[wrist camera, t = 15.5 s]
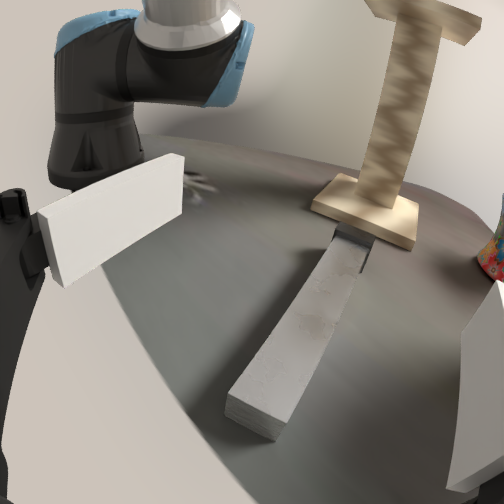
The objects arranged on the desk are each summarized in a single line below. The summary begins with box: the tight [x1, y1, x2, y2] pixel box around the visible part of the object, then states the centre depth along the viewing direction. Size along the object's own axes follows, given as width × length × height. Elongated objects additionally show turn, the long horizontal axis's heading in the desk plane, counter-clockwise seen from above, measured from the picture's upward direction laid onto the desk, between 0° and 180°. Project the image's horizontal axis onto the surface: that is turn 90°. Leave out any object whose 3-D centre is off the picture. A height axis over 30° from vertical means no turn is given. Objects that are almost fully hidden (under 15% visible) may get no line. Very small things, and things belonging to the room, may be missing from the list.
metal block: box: [224, 221, 376, 442], centre depth 24 cm, size 22×4×4 cm, turn 152°
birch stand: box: [310, 0, 482, 251], centre depth 36 cm, size 14×14×30 cm
